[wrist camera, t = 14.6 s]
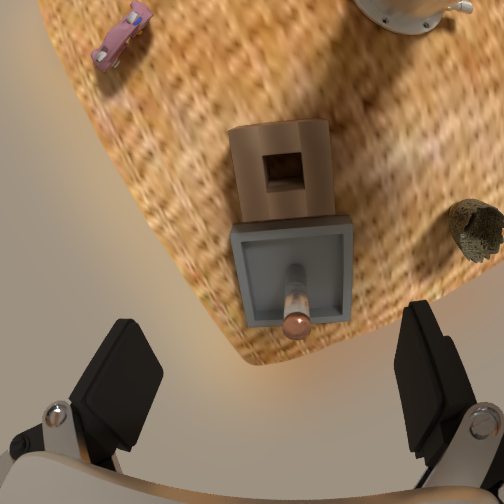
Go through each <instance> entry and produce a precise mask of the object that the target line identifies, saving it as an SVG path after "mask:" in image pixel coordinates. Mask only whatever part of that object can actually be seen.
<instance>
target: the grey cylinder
mask: <svg viewBox="0 0 504 504" xmlns="http://www.w3.org/2000/svg"><path fill="white" fill-rule="evenodd" d="M310 332H311V323H310V315H309V302H308V289H307V277H306V270H305V268H304V267H303V266H302V265H300V264H292V265H290V266H288V268H287V269H286V275H285V304H284V321H283V333H284V335H285V336H286V337H287V338H289V339H292V340H301V339H304V338H306V337H307V336H308V335H309V334H310Z"/></svg>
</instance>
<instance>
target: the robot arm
mask: <svg viewBox="0 0 504 504" xmlns="http://www.w3.org/2000/svg"><path fill="white" fill-rule="evenodd" d="M353 1H354V2H355V4H356V5H357V7H358V8H359V9H360V10H361V11H362V12H363V14H365V15H366V16H367V17H368V18H369V19H370V20H372V21H373V22H375V23H376V24H377V25H379V26H381V27H383V28H385V29H387V30H389V31H392V32H395V33H398V34H403V35H418V34H423V33H425V32H428V31H430V30H432V29H433V28H435V27H436V25H437V24H438V23H439V22H440V20H441V18H442V14H443V11H445V10H446V11H451V10H457V11H459V12H463V13H466V14H471V13H472V10H473V8H472V4H471V3H470V2H469V1H465V0H353ZM382 20H383V21H385V23H384V22H383V21H382ZM423 25H424V26H425V27H424V26H423ZM394 370H395V375H396V380H397V384H398V389H399V393H400V398H401V403H402V408H403V414H404V419H405V425H406V431H407V437H408V443H409V449H410V452H415V456H416V459H418V458H422V457H424V459H425V465H426V466H428V467H427V469H426V470H425V471H424V473H423V475H422V476H421V478H420V479H419V481H418V482H417V484H416V485H415V486H414V488H413V489H412V490H405V491H398V492H391V493H385V494H378V495H370V496H362V497H351V498H339V499H323V500H268V499H267V500H266V499H251V498H239V497H230V496H221V495H214V494H207V493H201V492H194V491H189V490H184V489H179V488H174V487H169V486H165V485H161V484H156V483H152V482H148V481H145V480H140V479H137V478H134V477H130V476H127V475H124V474H123V473H122V470H121V467H120V464H119V462H118V459H117V456H116V453H115V450H116V448H118V449H120V450H124V451H127V452H130V451H131V448H132V446H134V445H135V444H136V443H137V440H138V438H139V435H140V432H141V430H142V427H143V425H144V422H145V420H146V417H147V415H148V412H149V410H150V408H151V405H152V403H153V400H154V398H155V395H156V393H157V390H158V388H159V385H160V383H161V381H162V378H163V369H162V367H161V365H160V363H159V361H158V360H157V358H156V356H155V354H154V353H153V351H152V349H151V347H150V345H149V343H148V341H147V339H146V338H145V336H144V334H143V332H142V330H141V328H140V326H139V325H138V323H136V322H135V321H134V320H133V319H118V320H117V321H116V322H115V324H114V325H113V327H112V328H111V330H110V331H109V333H108V335H107V336H106V338H105V339H104V341H103V342H102V344H101V346H100V347H99V349H98V350H97V352H96V353H95V355H94V357H93V358H92V360H91V361H90V363H89V365H88V366H87V368H86V370H85V371H84V373H83V375H82V376H81V378H80V380H79V381H78V383H77V385H76V386H75V388H74V390H73V392H72V393H71V395H70V397H69V400H70V401H71V402H72V403H71V405H69V404H68V403H67V402H65V401H56V402H54V403H52V404H51V405H49V406H48V407H47V409H46V410H45V411H44V414H43V416H42V423H41V424H39V425H37V426H35V427H33V428H31V429H28V430H26V431H24V432H22V433H20V434H18V435H17V436H16V437H14V439H13V440H12V442H11V444H10V452H9V451H8V450H7V451H5V452H4V453H3V454H2V455H1V456H0V504H504V414H503V412H502V411H501V410H500V408H499V407H498V406H496V405H494V404H492V403H488V402H481V403H477V401H476V399H475V395H474V393H473V390H472V387H471V384H470V382H469V379H468V377H467V374H466V371H465V369H464V366H463V364H462V361H461V359H460V356H459V354H458V352H457V349H456V347H455V345H454V342H453V341H452V339H451V337H450V336H443V334H442V332H441V330H440V327H439V325H438V323H437V321H436V318H435V316H434V314H433V312H432V310H431V308H430V306H429V303H428V302H427V300H420V301H413V302H410V303H409V305H408V307H404V310H403V316H402V322H401V328H400V333H399V339H398V344H397V349H396V354H395V359H394Z"/></svg>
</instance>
